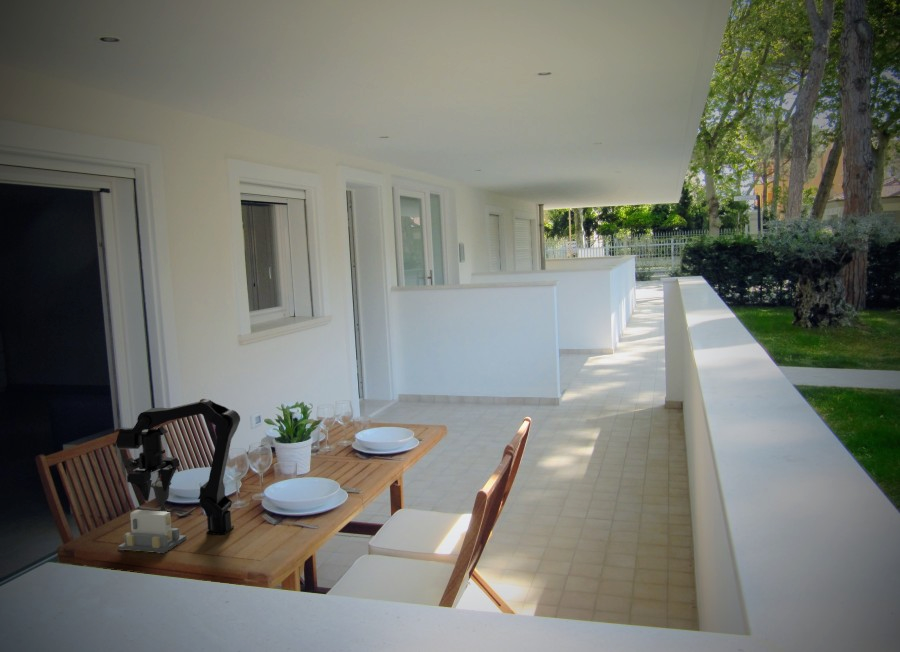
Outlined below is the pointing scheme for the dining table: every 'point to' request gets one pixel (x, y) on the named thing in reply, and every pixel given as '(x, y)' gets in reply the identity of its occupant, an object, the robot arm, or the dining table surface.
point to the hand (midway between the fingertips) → (155, 495)
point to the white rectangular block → (151, 523)
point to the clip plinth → (151, 541)
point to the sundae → (160, 493)
